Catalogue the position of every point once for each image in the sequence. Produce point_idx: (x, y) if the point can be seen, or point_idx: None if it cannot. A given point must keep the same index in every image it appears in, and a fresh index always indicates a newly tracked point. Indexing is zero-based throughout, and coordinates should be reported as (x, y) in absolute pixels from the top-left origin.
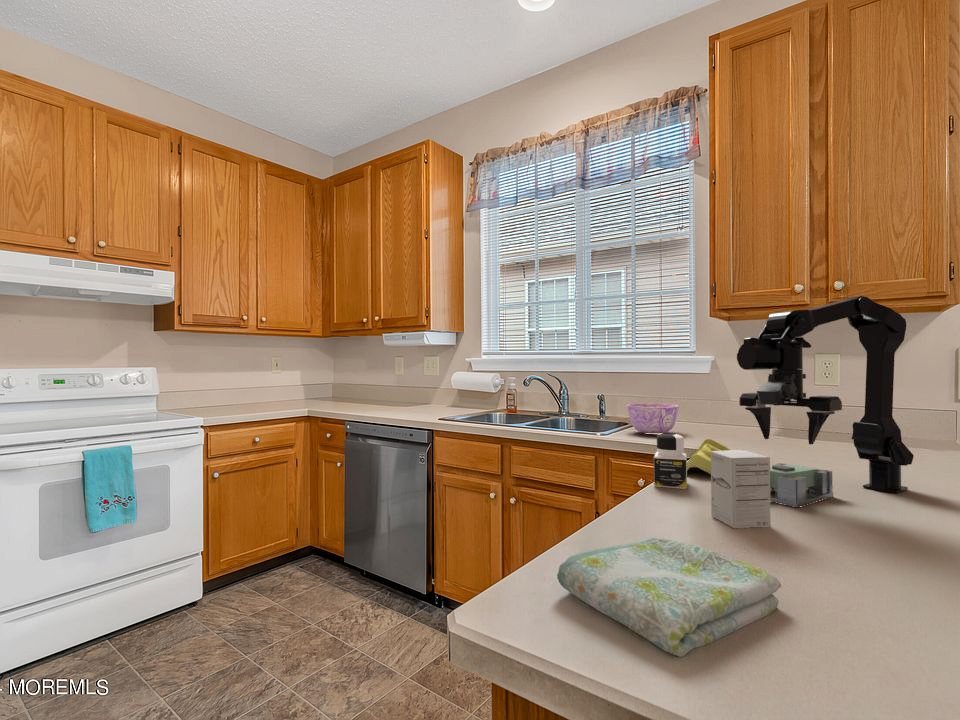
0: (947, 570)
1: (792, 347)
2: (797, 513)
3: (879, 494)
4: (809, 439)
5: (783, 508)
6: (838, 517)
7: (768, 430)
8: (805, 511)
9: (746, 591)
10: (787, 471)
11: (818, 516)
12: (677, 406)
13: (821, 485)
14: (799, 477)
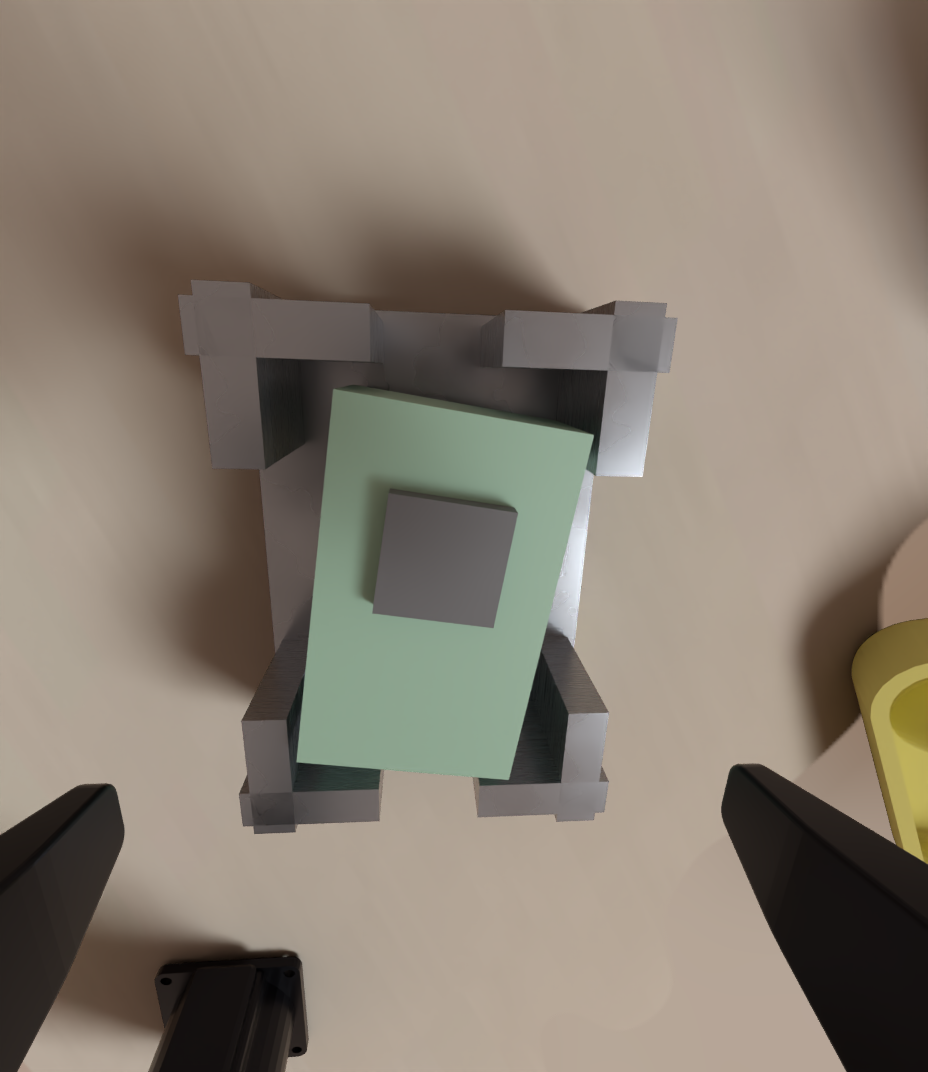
0: None
1: None
2: (184, 171)
3: (197, 907)
4: (38, 833)
5: (302, 228)
6: (4, 293)
7: (805, 937)
8: (187, 271)
9: None
10: (378, 501)
11: (74, 210)
12: None
13: (275, 669)
14: (243, 431)
